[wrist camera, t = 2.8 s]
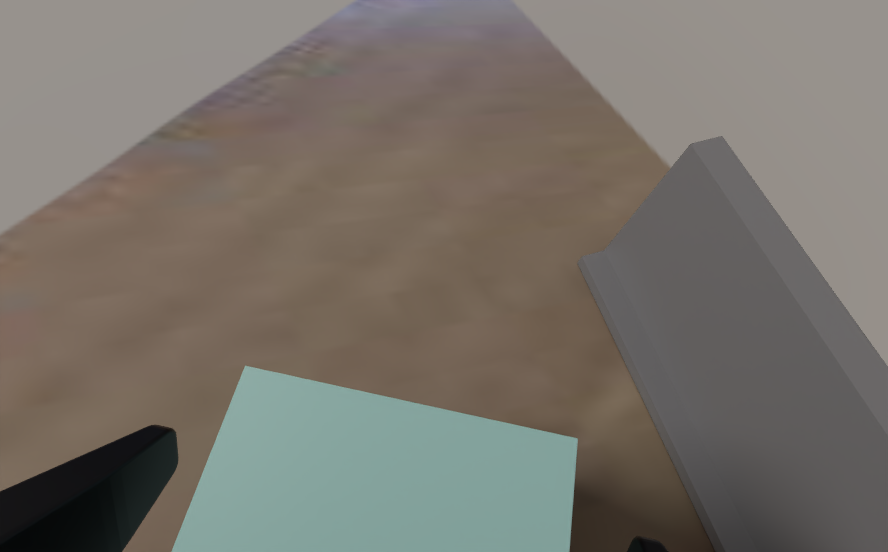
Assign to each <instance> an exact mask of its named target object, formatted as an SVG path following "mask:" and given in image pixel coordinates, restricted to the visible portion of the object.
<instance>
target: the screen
mask: <svg viewBox="0 0 888 552" xmlns="http://www.w3.org/2000/svg"><path fill="white" fill-rule="evenodd" d="M578 265H579V267H580V270H581V272H582V274H583V276H584V278H585V280H586V282H587V284H588V286H589V288H590V290H591V293H592V295H593V297H594V299H595V301H596V303H597V305H598V307H599V309H600V311H601V313H602V316H603V318H604V320H605V322H606V324H607V326H608V328H609V330H610V332H611V334H612V336H613V339H614V341H615V343H616V345H617V347H618V349H619V351H620V353H621V355H622V357H623V359H624V362H625V364H626V366H627V368H628V370H629V372H630V374H631V376H632V378H633V380H634V382H635V384H636V387H637V389H638V391H639V393H640V395H641V397H642V399H643V401H644V403H645V405H646V407H647V410H648V412H649V414H650V416H651V418H652V420H653V422H654V424H655V426H656V428H657V430H658V433H659V435H660V437H661V439H662V441H663V443H664V445H665V447H666V449H667V451H668V453H669V456H670V458H671V460H672V462H673V464H674V466H675V468H676V470H677V472H678V474H679V476H680V479H681V481H682V483H683V485H684V487H685V489H686V491H687V493H688V495H689V497H690V499H691V502H692V504H693V506H694V508H695V510H696V512H697V514H698V516H699V518H700V520H701V522H702V525H703V527H704V529H705V531H706V533H707V535H708V537H709V539H710V541H711V543H712V545H713V548H714V550H715V552H888V366H887V365H886V364H885V362H884V361H883V360H882V358H881V357H880V355H879V354H878V353H877V351H876V350H875V348H874V347H873V346H872V344H871V343H870V341H869V340H868V339H867V337H866V336H865V334H864V333H863V332H862V330H861V329H860V327H859V326H858V325H857V323H856V322H855V321H854V319H853V318H852V317H851V315H850V314H849V312H848V311H847V309H846V308H845V307H844V305H843V304H842V303H841V301H840V300H839V298H838V297H837V296H836V294H835V293H834V291H833V290H832V288H831V287H830V286H829V284H828V283H827V282H826V280H825V279H824V277H823V276H822V275H821V273H820V272H819V270H818V269H817V268H816V266H815V265H814V264H813V262H812V261H811V259H810V258H809V256H808V255H807V254H806V252H805V251H804V249H803V248H802V247H801V245H800V244H799V243H798V241H797V240H796V239H795V237H794V236H793V234H792V233H791V231H790V230H789V229H788V227H787V226H786V224H785V223H784V222H783V220H782V219H781V217H780V216H779V215H778V213H777V212H776V210H775V209H774V208H773V206H772V205H771V204H770V202H769V201H768V199H767V198H766V197H765V196H764V194H763V192H762V191H761V190H760V188H759V187H758V185H757V184H756V183H755V181H754V180H753V179H752V177H751V176H750V175H749V173H748V171H747V170H746V169H745V167H744V166H743V165H742V163H741V162H740V160H739V159H738V158H737V156H736V155H735V154H734V152H733V151H732V150H731V148H730V146H729V145H728V144H727V142H726V141H725V139H724V138H723V137H722V136H721V137H716V138H712V139H708V140H704V141H700V142H696V143H692V144H690V145H689V147H688V148H687V149H686V150H685V151H684V153H683V154H682V155H681V156H680V158H679V159H678V160H677V161H676V163H675V164H674V165H673V166H672V167H671V169H670V170H669V171H668V172H667V174H666V175H665V176H664V177H663V178H662V180H661V181H660V182H659V183H658V185H657V186H656V187H655V188H654V190H653V191H652V192H651V193H650V194H649V196H648V197H647V198H646V199H645V201H644V202H643V203H642V204H641V206H640V207H639V208H638V209H637V210H636V212H635V213H634V214H633V215H632V217H631V218H630V219H629V220H628V222H627V223H626V224H625V225H624V226H623V228H622V229H621V230H620V231H619V233H618V234H617V235H616V236H615V238H614V239H613V240H612V241H611V242H610V244H609V245H608V246H607V247H606V249H605V250H604V251H600V252H597V253H593V254H589V255H586V256H582V257H581V259H580V260H579V261H578Z"/></svg>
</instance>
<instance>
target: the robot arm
mask: <svg viewBox="0 0 888 552" xmlns="http://www.w3.org/2000/svg"><path fill="white" fill-rule="evenodd" d="M177 464H178V448H177V437H176V432H175V430H174V429H172V428H169V427H165V426H160V425H150V426H148V427H145V428H143V429H141V430H138V431H136V432H134V433H132V434H129V435H127V436H125V437H123V438H120V439H118V440H116V441H114V442H111V443H109V444H107V445H104V446H102V447H100V448H98V449H95V450H93V451H91V452H89V453H86V454H84V455H82V456H80V457H77V458H75V459H73V460H70V461H68V462H66V463H64V464H61V465H59V466H57V467H55V468H52V469H50V470H48V471H46V472H43V473H41V474H39V475H37V476H34V477H32V478H30V479H27V480H25V481H23V482H21V483H18V484H16V485H14V486H12V487H9V488H7V489H5V490H3V491H0V552H122V551H123V550H124V548H125V547H126V545H127V544H128V542H129V541H130V539H131V538H132V536H133V535H134V533H135V532H136V530H137V529H138V527H139V526H140V524H141V523H142V521H143V520H144V518H145V516H146V515H147V513H148V512H149V510H150V509H151V507H152V506H153V504H154V503H155V501H156V500H157V498H158V497H159V495H160V494H161V492H162V490H163V489H164V487H165V486H166V484H167V483H168V481H169V480H170V478H171V477H172V475H173V474H174V472H175V470H176V468H177ZM627 552H668V551H667V549H666V548H665V547H664V546H663V545H662V544H661V543H660V542H659V541H657V540H654V539H650V538H646V537H641V536H636V537H635V538H634V539H633V540H632V542H631V544H630V546H629V548H628V551H627Z"/></svg>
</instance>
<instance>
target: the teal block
mask: <svg viewBox="0 0 888 552" xmlns="http://www.w3.org/2000/svg"><path fill="white" fill-rule="evenodd" d="M577 442H578V439H577V438H573V437H568V436H564V435H559V434H555V433H550V432H545V431H541V430H536V429H532V428H527V427H523V426H518V425H513V424H509V423H504V422H500V421H495V420H491V419H486V418H482V417H477V416H472V415H468V414H463V413H459V412H454V411H450V410H445V409H440V408H436V407H431V406H427V405H422V404H418V403H413V402H408V401H404V400H399V399H395V398H390V397H386V396H381V395H376V394H372V393H367V392H363V391H358V390H354V389H349V388H344V387H340V386H335V385H331V384H326V383H322V382H317V381H312V380H308V379H303V378H299V377H294V376H290V375H285V374H280V373H276V372H271V371H267V370H262V369H258V368H253V367H248V366H245V368H244V370H243V373H242V375H241V378H240V381H239V383H238V386H237V388H236V391H235V393H234V396H233V398H232V401H231V403H230V406H229V408H228V411H227V413H226V416H225V418H224V421H223V423H222V426H221V428H220V431H219V433H218V436H217V438H216V441H215V444H214V446H213V449H212V451H211V454H210V456H209V459H208V461H207V464H206V466H205V469H204V471H203V474H202V476H201V479H200V481H199V484H198V486H197V489H196V491H195V494H194V496H193V499H192V501H191V504H190V506H189V509H188V512H187V514H186V517H185V519H184V522H183V524H182V527H181V529H180V532H179V534H178V537H177V539H176V542H175V544H174V547H173V549H172V552H569V550H570V536H571V523H572V510H573V496H574V483H575V469H576V456H577Z"/></svg>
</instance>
